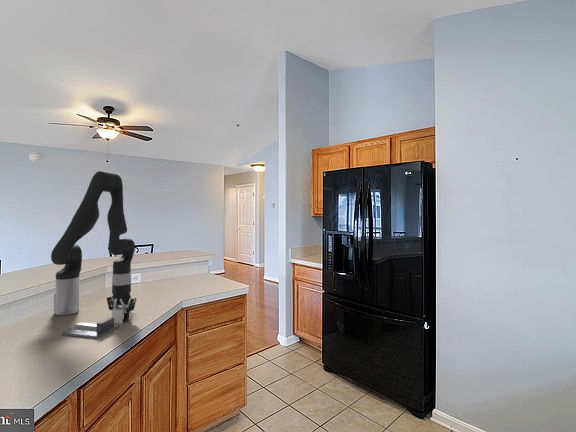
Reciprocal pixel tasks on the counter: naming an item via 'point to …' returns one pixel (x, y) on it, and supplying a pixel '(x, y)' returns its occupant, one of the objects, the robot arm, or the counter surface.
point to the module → (118, 314)
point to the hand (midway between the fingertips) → (121, 319)
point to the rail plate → (92, 329)
